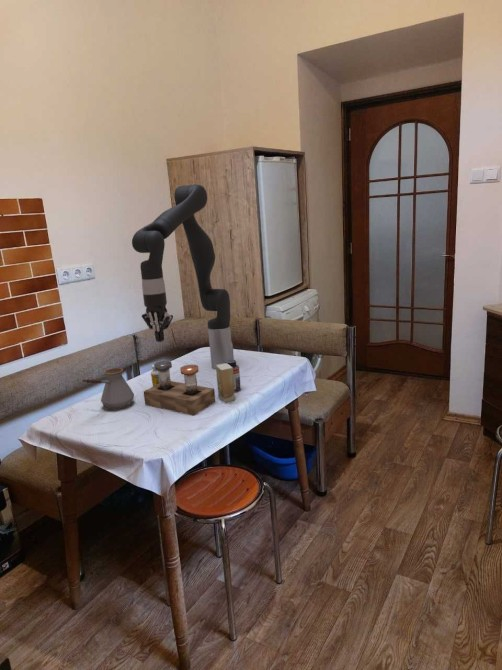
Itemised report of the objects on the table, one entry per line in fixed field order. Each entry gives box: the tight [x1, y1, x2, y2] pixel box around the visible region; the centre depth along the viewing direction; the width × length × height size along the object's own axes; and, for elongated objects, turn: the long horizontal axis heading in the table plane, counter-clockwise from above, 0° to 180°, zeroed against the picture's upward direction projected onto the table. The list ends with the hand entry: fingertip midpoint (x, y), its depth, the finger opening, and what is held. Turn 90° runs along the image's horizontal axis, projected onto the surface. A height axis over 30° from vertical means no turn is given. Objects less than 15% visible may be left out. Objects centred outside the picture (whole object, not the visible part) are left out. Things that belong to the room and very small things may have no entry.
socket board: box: [142, 380, 216, 416], centre depth 166 cm, size 12×22×5 cm, turn 57°
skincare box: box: [215, 363, 236, 403], centre depth 166 cm, size 6×4×12 cm
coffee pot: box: [79, 367, 135, 410], centre depth 163 cm, size 21×12×15 cm, turn 158°
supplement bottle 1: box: [150, 363, 159, 387], centre depth 181 cm, size 5×5×10 cm
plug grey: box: [153, 360, 173, 391], centre depth 167 cm, size 6×6×10 cm
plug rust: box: [179, 364, 200, 396], centre depth 161 cm, size 6×6×10 cm
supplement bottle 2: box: [225, 358, 242, 393], centre depth 174 cm, size 6×6×11 cm
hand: (160, 341), depth 164 cm, fingers closed
